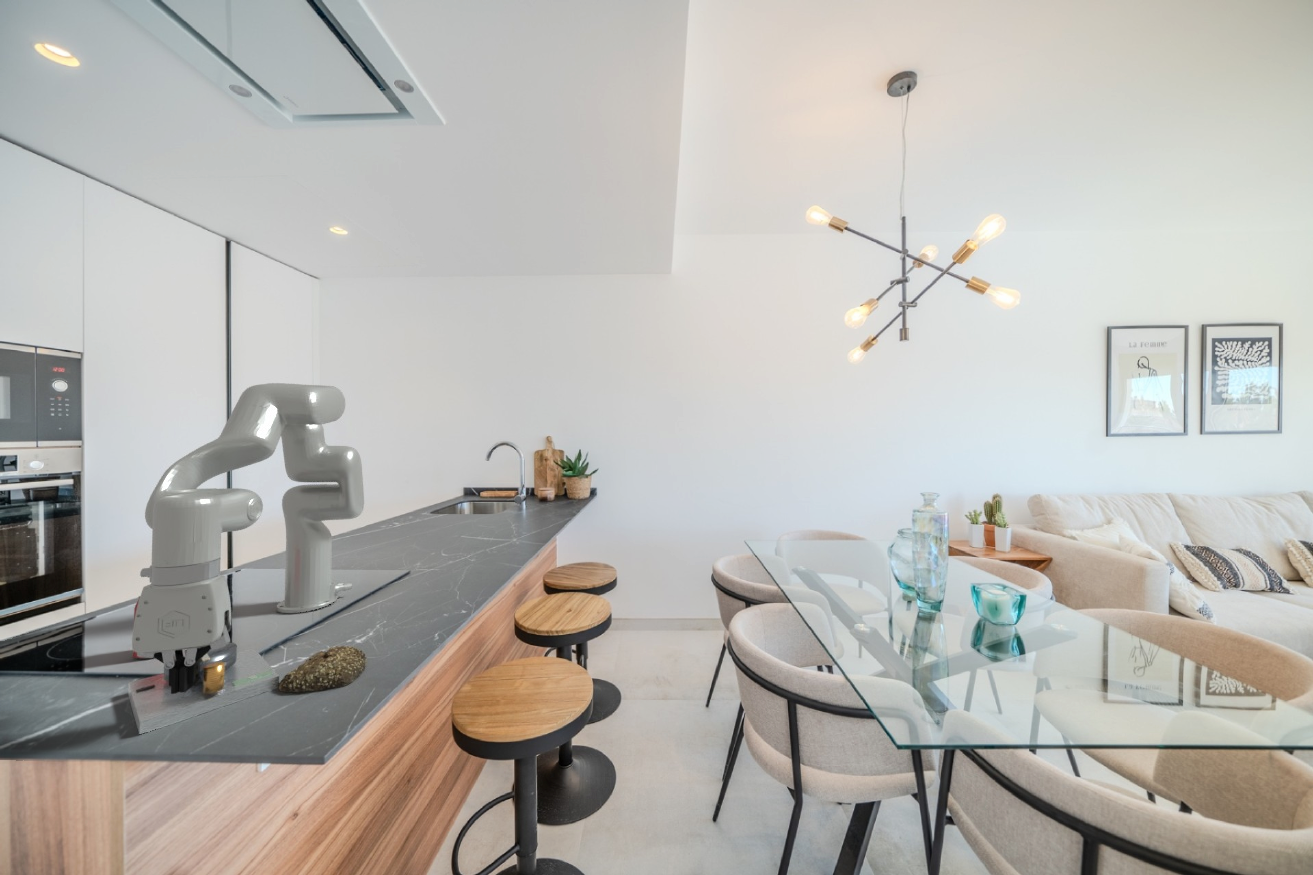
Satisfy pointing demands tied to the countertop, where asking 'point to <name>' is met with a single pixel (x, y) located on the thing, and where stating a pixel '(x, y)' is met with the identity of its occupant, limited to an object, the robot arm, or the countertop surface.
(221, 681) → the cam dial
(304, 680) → the bread roll
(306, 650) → the countertop surface
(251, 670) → the plate
